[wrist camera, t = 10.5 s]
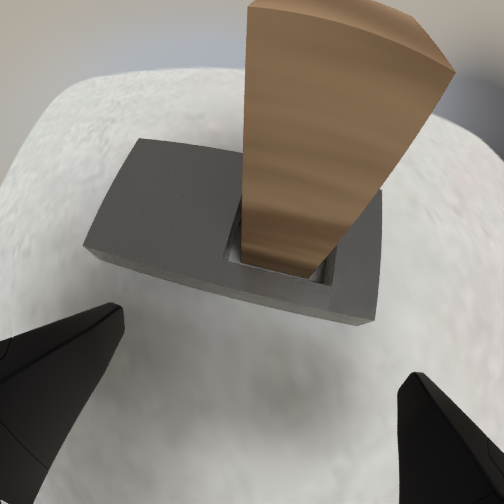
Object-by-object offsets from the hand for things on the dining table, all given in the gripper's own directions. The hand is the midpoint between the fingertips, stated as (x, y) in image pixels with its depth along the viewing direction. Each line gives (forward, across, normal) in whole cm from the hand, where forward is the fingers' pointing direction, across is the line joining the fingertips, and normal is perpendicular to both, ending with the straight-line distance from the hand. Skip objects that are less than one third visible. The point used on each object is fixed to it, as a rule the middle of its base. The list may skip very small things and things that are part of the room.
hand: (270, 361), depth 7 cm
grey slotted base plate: (+12, +3, +1) cm, 12 cm away
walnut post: (+12, 0, +1) cm, 12 cm away
